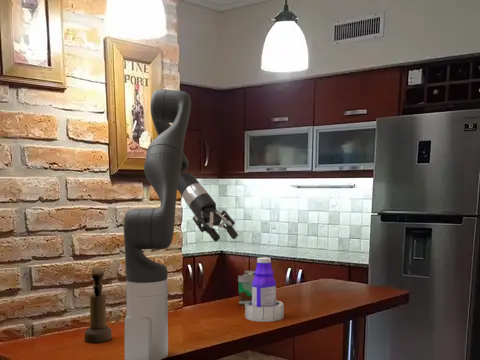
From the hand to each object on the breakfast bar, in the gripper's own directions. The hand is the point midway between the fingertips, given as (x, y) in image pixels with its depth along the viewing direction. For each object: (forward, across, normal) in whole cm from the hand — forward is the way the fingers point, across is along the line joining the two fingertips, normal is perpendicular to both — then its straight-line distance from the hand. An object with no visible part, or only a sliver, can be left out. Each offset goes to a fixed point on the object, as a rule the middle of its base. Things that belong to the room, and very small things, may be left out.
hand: (227, 238), depth 156 cm
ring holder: (+24, +2, +8) cm, 26 cm away
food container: (+14, +16, +19) cm, 28 cm away
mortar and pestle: (+10, -41, +22) cm, 48 cm away
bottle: (+25, +2, +8) cm, 26 cm away
